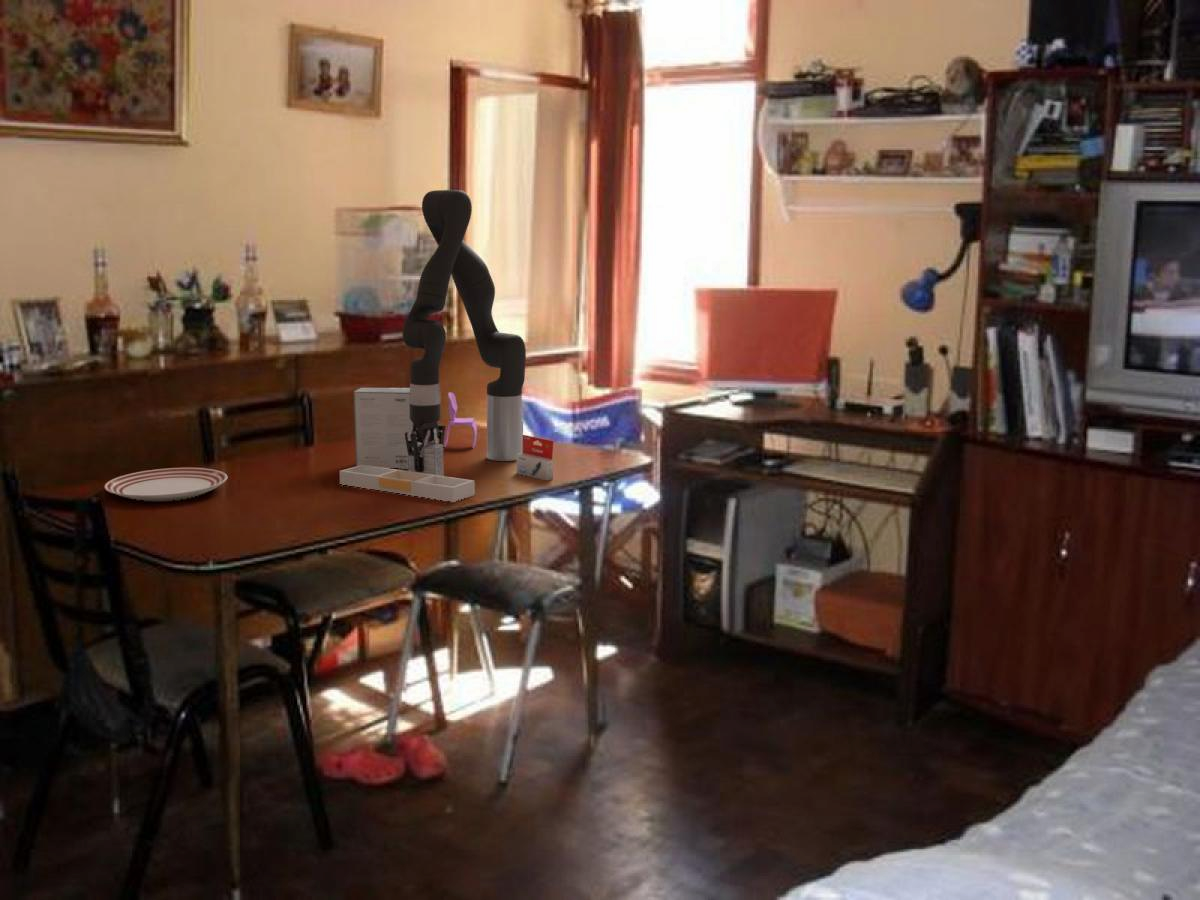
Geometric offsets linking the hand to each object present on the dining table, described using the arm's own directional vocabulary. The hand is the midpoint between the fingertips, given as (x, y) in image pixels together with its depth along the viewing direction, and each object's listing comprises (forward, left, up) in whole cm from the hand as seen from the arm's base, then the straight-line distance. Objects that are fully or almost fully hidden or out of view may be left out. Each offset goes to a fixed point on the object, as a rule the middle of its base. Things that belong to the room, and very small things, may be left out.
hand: (425, 469), depth 330 cm
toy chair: (-38, -16, -3) cm, 41 cm away
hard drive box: (-7, -17, -3) cm, 19 cm away
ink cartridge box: (-17, +21, -3) cm, 27 cm away
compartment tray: (+12, +3, -2) cm, 13 cm away
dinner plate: (+43, -43, -3) cm, 61 cm away
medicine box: (0, 0, -3) cm, 3 cm away
